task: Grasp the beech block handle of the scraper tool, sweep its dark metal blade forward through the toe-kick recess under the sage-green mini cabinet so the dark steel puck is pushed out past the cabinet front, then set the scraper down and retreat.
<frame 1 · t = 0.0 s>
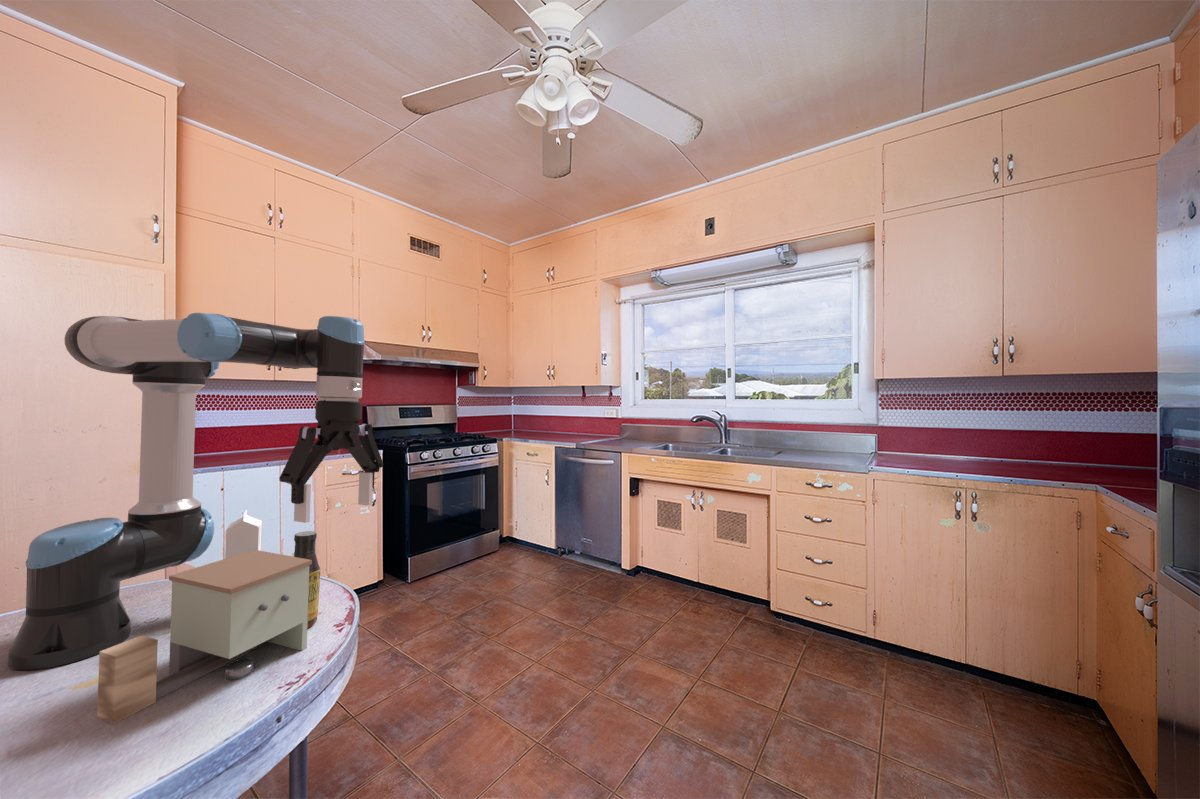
hand: (335, 512, 83), 28 cm above the table, fingers open, 13 cm apart
scraper tool: (127, 709, 69), on the table
sauce bottle: (301, 626, 95), on the table
cabinet: (241, 659, 83), on the table
milk: (242, 605, 104), on the table
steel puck: (239, 674, 78), on the table
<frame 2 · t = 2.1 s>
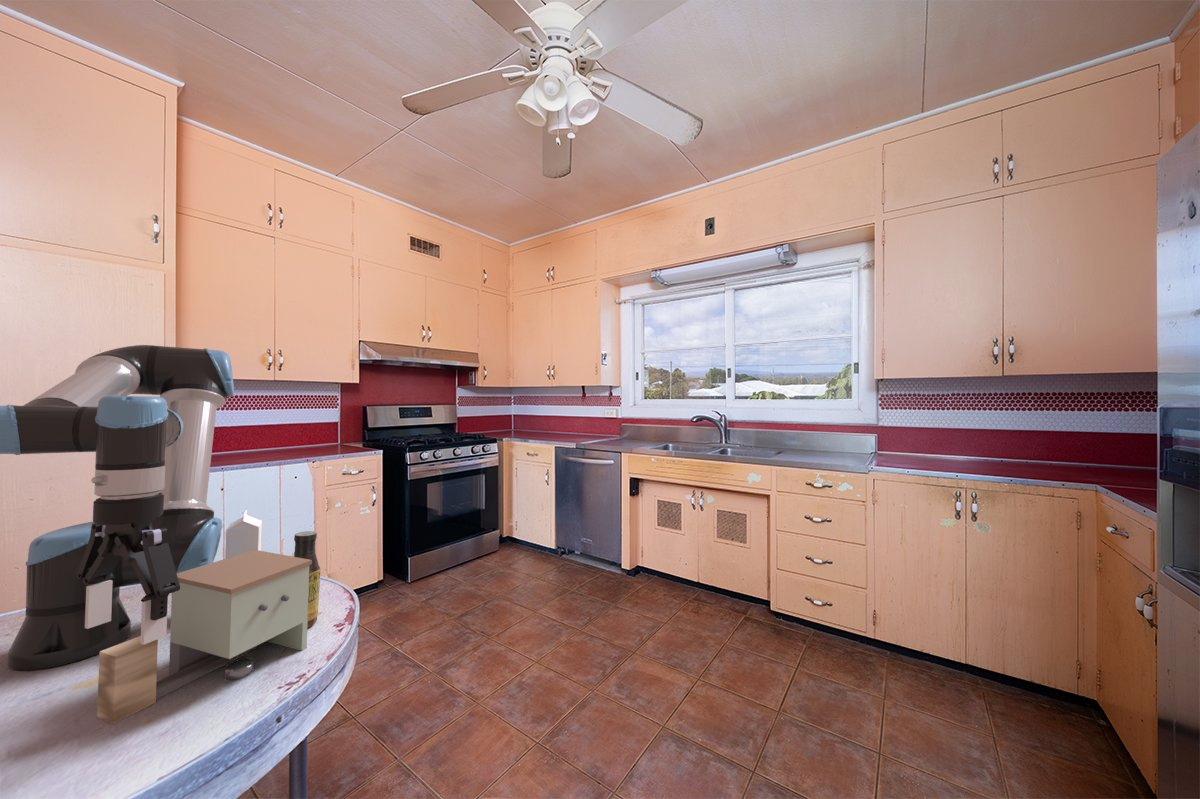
hand: (125, 632, 68), 12 cm above the table, fingers open, 13 cm apart
nothing on the table moved.
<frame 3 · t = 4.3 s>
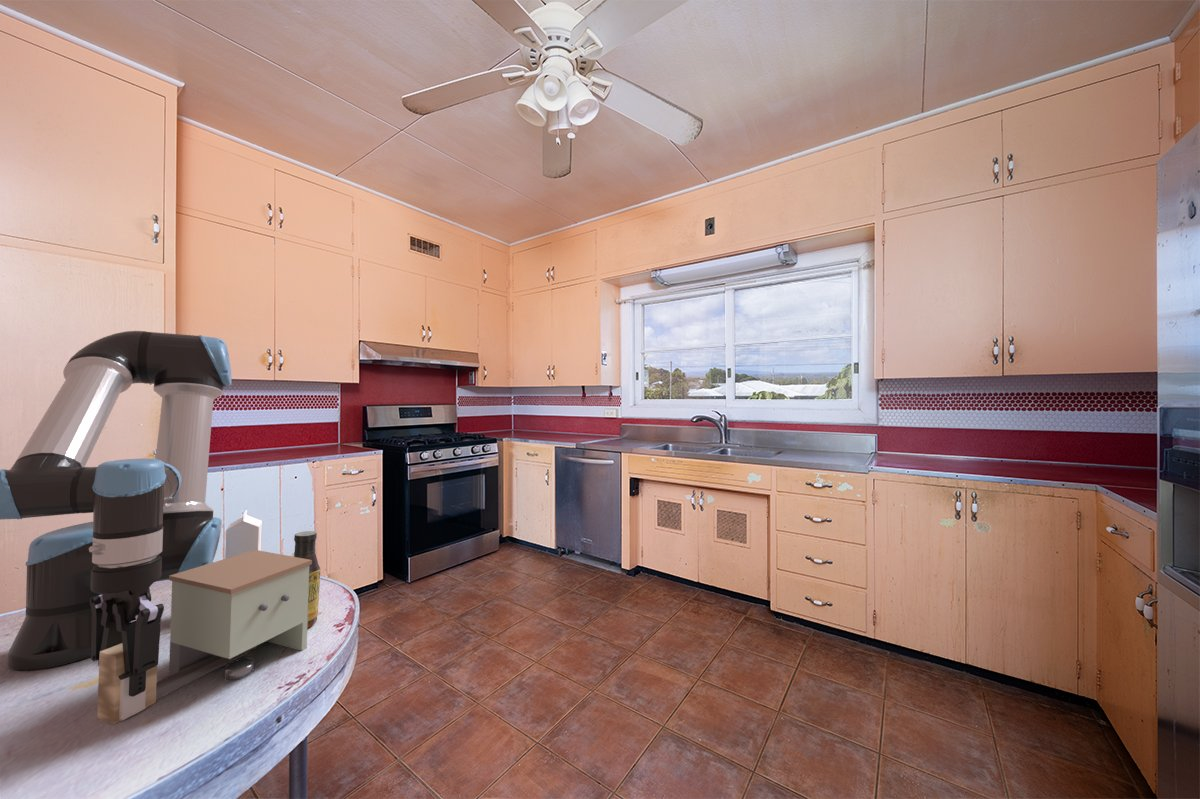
hand: (122, 710, 68), 0 cm above the table, fingers closed on scraper tool, 4 cm apart
scraper tool: (127, 709, 69), on the table, touching gripper
everything else where it was.
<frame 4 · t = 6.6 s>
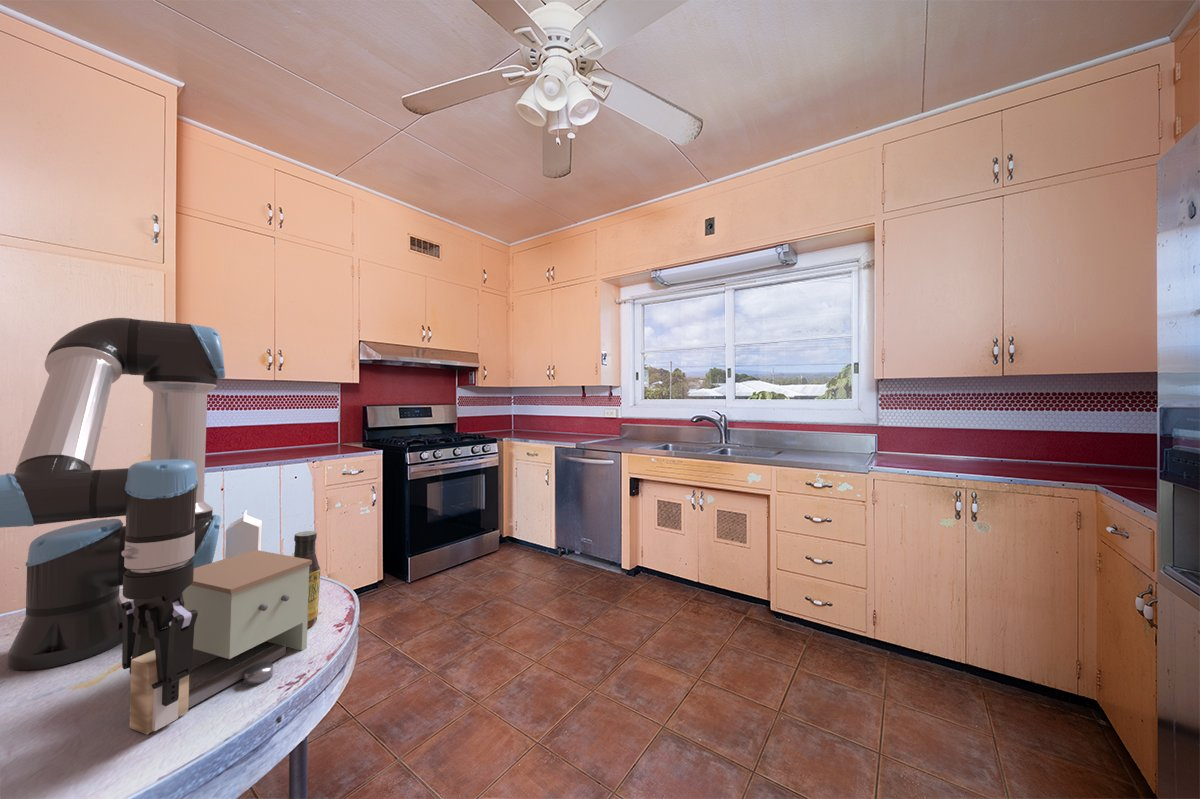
hand: (154, 719, 66), 1 cm above the table, fingers closed on scraper tool, 4 cm apart
scraper tool: (159, 719, 67), on the table, touching gripper
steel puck: (258, 679, 77), on the table
everything else where it was.
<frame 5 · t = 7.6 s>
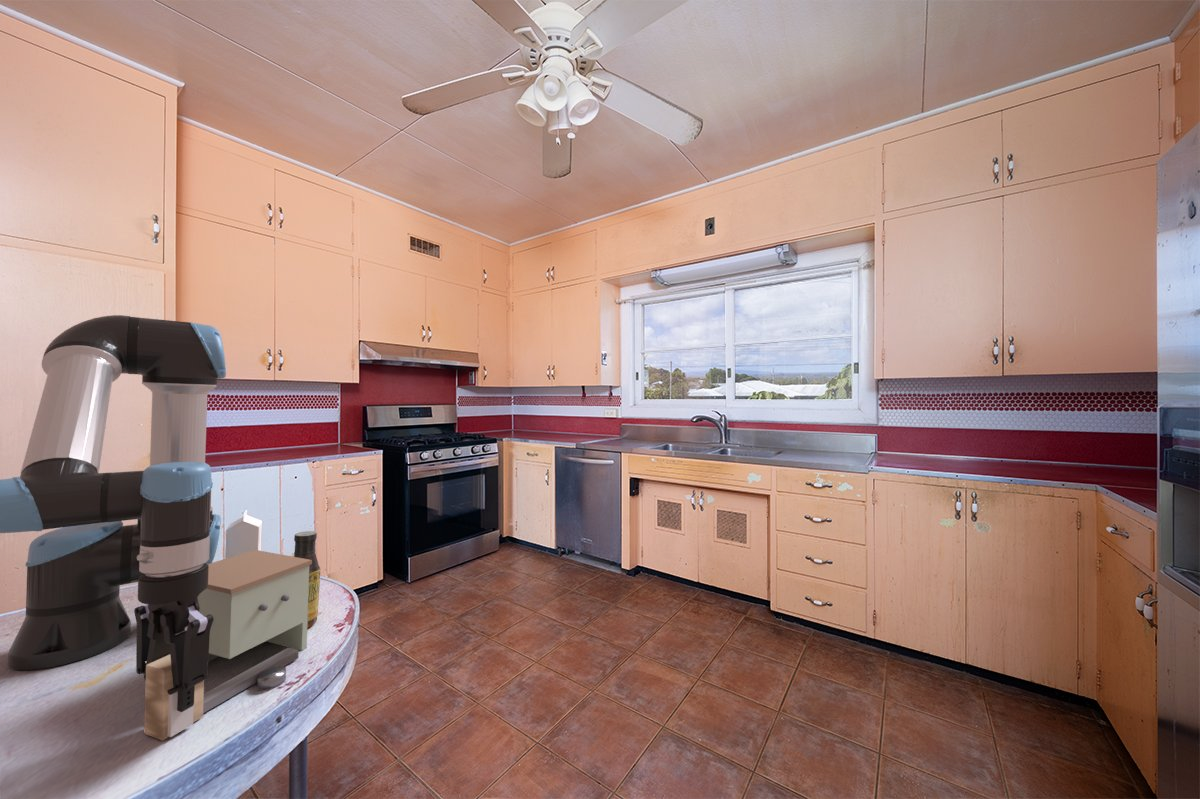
hand: (169, 725, 65), 1 cm above the table, fingers closed on scraper tool, 4 cm apart
scraper tool: (174, 724, 66), on the table, touching gripper
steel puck: (271, 683, 76), on the table
everything else where it was.
when the fingers open (0 cm above the table, at t = 9.0 s): scraper tool stays where it is, on the table.
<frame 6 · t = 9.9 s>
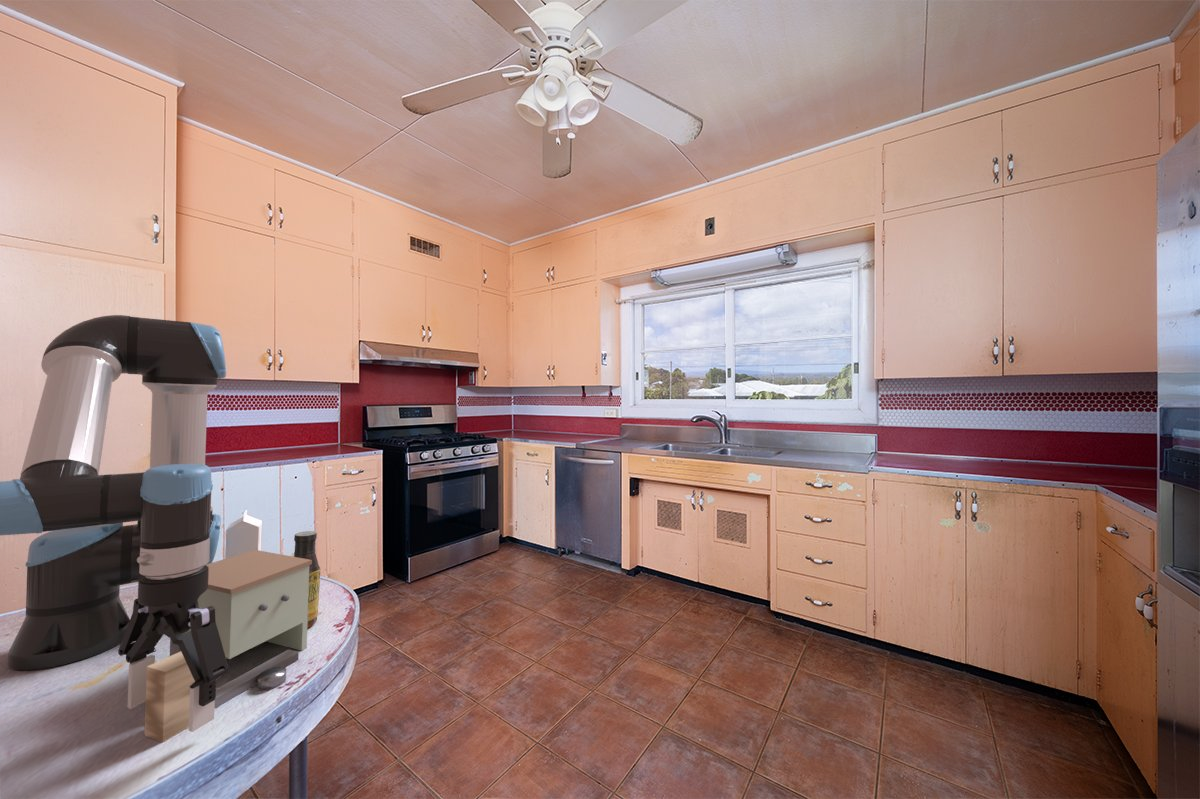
hand: (170, 713, 65), 2 cm above the table, fingers open, 13 cm apart
scraper tool: (174, 726, 66), on the table
everything else where it was.
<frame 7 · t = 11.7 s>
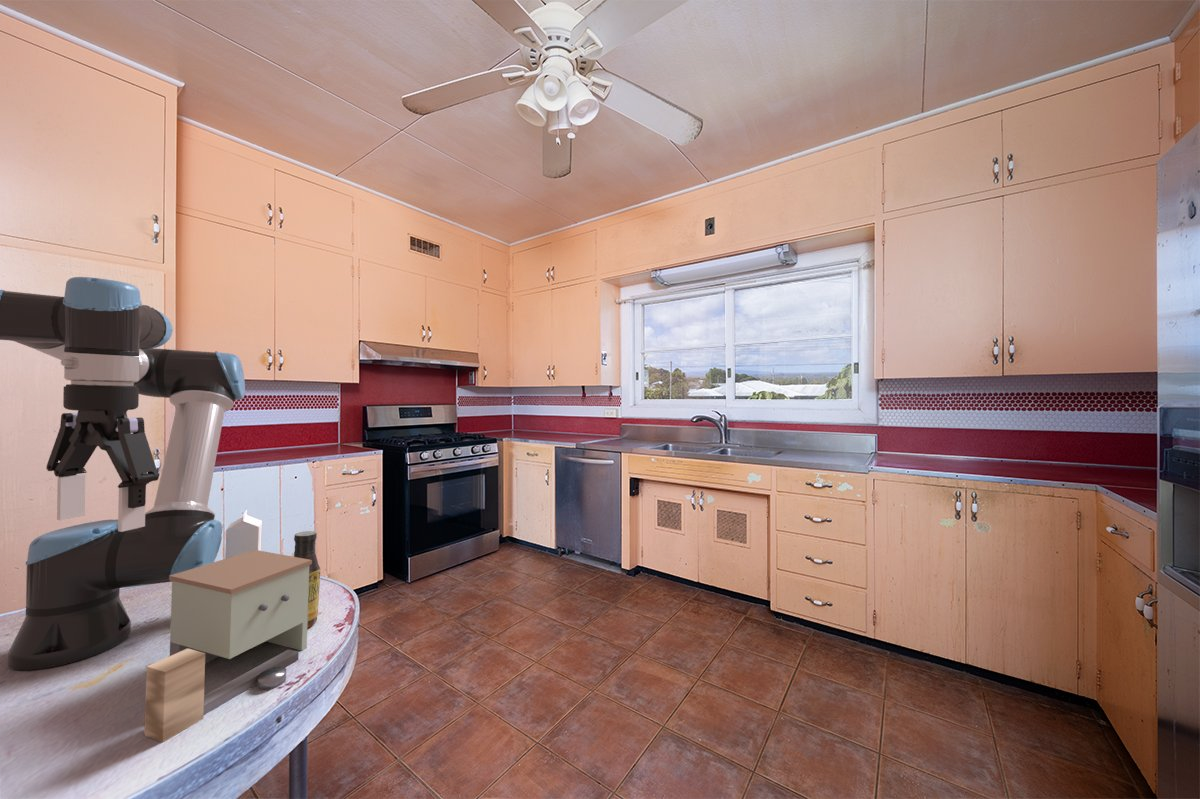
hand: (100, 523, 67), 30 cm above the table, fingers open, 13 cm apart
nothing on the table moved.
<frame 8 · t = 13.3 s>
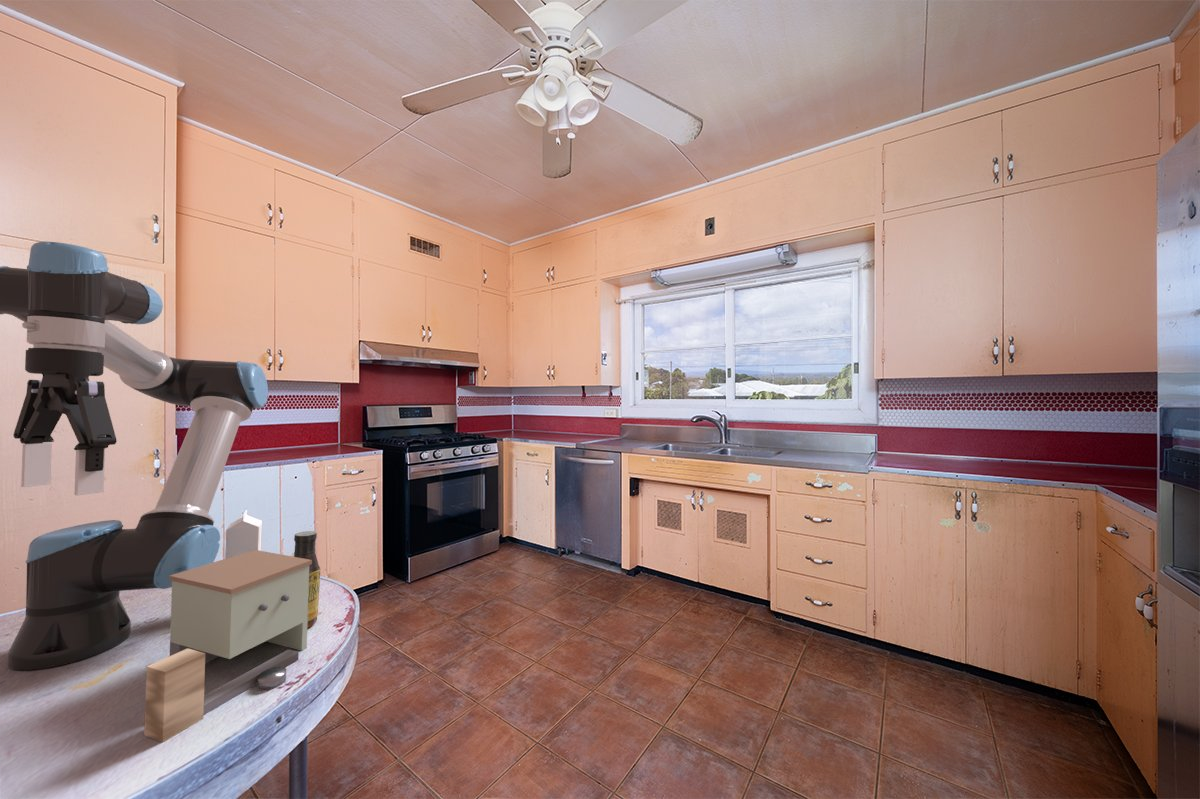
hand: (61, 489, 66), 35 cm above the table, fingers open, 13 cm apart
nothing on the table moved.
at the end: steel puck inside the target area (3.1 cm from its centre), on the table; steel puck moved 7.7 cm from its start; the gripper is holding nothing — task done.
